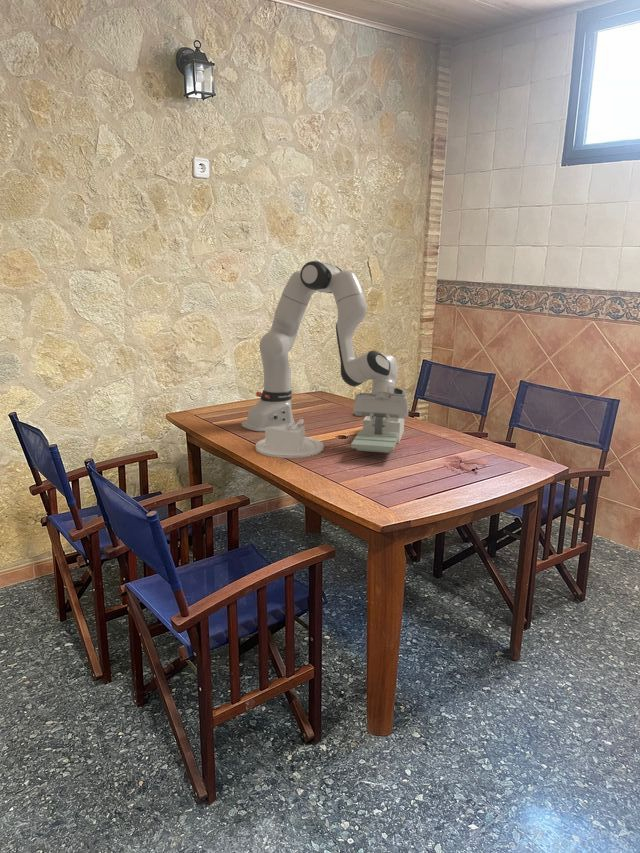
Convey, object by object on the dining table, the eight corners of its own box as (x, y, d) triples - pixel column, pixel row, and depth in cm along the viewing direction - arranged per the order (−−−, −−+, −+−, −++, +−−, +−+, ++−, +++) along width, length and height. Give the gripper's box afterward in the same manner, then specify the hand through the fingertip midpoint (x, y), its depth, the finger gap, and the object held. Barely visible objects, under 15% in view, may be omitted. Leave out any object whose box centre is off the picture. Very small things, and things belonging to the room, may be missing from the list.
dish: (328, 441, 241) (328, 412, 238) (315, 461, 218) (316, 429, 215) (266, 437, 246) (266, 408, 243) (247, 456, 222) (246, 425, 219)
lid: (393, 454, 215) (394, 430, 213) (350, 451, 218) (351, 427, 216) (399, 439, 233) (400, 416, 230) (359, 436, 236) (360, 414, 234)
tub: (399, 443, 239) (400, 422, 237) (362, 440, 242) (363, 420, 240) (403, 430, 256) (404, 411, 254) (369, 428, 259) (370, 409, 257)
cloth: (447, 455, 228) (448, 448, 227) (508, 466, 217) (509, 459, 216) (426, 470, 211) (426, 463, 210) (490, 483, 200) (491, 476, 199)
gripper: (355, 388, 236) (349, 419, 230) (409, 391, 232) (406, 423, 225) (356, 397, 242) (351, 428, 235) (410, 400, 237) (406, 432, 230)
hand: (378, 426), depth 230 cm, fingers closed on lid, 2 cm apart
